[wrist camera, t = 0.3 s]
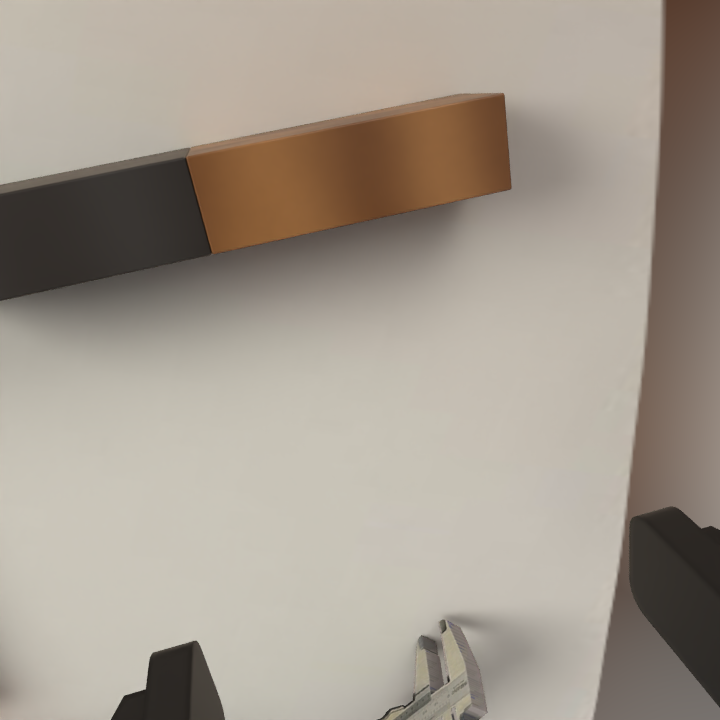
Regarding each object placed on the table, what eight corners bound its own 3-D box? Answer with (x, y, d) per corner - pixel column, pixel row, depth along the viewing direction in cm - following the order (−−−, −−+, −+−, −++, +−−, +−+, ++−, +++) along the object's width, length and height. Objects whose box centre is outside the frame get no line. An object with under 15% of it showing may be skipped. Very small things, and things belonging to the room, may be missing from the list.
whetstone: (-69, 291, 23) (-125, 328, 19) (-109, 206, 21) (-176, 228, 18) (469, 176, 25) (512, 189, 21) (461, 93, 24) (505, 92, 20)
